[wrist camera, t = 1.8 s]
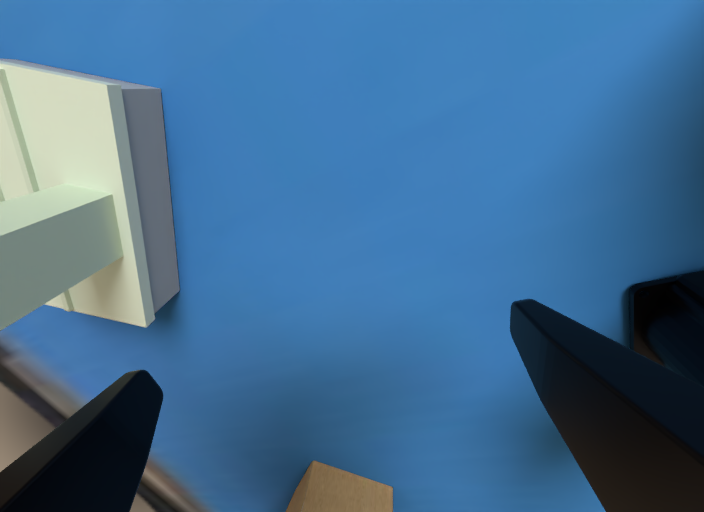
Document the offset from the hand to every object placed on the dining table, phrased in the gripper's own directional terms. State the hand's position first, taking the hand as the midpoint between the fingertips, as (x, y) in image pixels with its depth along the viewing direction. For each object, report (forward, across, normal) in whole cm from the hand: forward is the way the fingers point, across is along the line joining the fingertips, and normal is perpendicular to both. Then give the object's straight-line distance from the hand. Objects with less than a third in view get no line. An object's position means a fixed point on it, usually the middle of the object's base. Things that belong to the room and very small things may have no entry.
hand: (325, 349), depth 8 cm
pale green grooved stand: (+12, +14, -2) cm, 18 cm away
